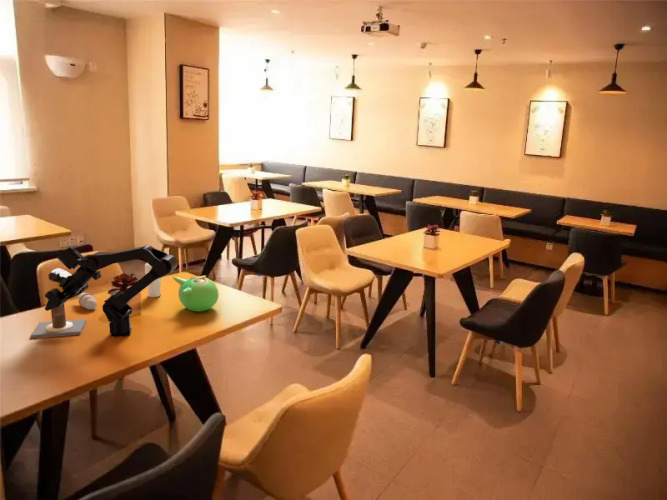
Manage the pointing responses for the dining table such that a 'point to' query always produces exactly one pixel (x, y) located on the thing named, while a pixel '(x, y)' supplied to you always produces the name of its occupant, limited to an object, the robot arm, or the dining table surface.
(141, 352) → the dining table surface
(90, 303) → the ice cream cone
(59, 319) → the pepper mill
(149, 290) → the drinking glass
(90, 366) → the dining table surface
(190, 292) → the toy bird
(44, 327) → the serving board
